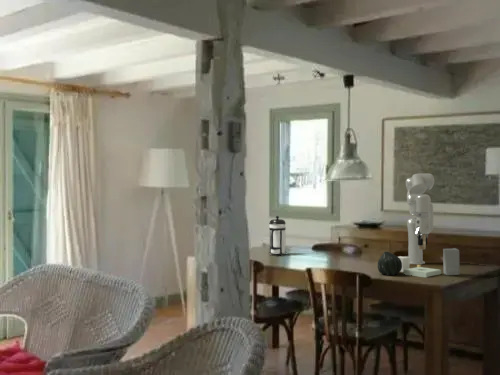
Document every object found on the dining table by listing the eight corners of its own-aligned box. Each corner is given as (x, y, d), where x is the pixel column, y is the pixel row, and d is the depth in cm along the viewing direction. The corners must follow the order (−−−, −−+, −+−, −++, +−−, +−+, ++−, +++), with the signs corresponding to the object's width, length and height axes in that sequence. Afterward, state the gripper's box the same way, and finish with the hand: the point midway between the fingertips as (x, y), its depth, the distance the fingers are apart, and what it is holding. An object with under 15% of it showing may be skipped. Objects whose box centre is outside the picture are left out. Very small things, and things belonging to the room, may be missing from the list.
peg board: (403, 274, 391) (403, 269, 391) (418, 271, 402) (418, 266, 402) (426, 277, 379) (426, 272, 379) (441, 274, 390) (441, 269, 390)
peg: (417, 249, 391) (417, 232, 390) (421, 248, 393) (421, 232, 393) (423, 249, 388) (423, 233, 387) (426, 249, 390) (427, 232, 390)
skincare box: (456, 273, 394) (456, 248, 393) (460, 275, 387) (460, 249, 386) (442, 273, 394) (442, 248, 393) (446, 275, 386) (446, 249, 386)
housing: (393, 271, 404) (393, 257, 403) (400, 270, 408) (400, 256, 408) (403, 272, 398) (403, 258, 398) (409, 271, 403) (409, 257, 403)
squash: (410, 265, 391) (395, 246, 397) (398, 269, 380) (383, 249, 386) (395, 279, 398) (380, 260, 404) (383, 283, 387) (368, 263, 393)
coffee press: (264, 254, 492) (263, 215, 491) (283, 253, 497) (283, 215, 496) (271, 256, 475) (271, 217, 475) (291, 256, 480) (291, 216, 479)
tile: (409, 270, 408) (409, 264, 408) (417, 268, 414) (417, 263, 414) (421, 271, 401) (421, 266, 401) (429, 270, 407) (429, 265, 407)
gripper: (420, 216, 381) (420, 246, 382) (435, 214, 393) (435, 244, 393) (409, 215, 387) (409, 245, 387) (425, 214, 398) (425, 243, 399)
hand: (422, 244), depth 390 cm, fingers closed on peg, 4 cm apart
